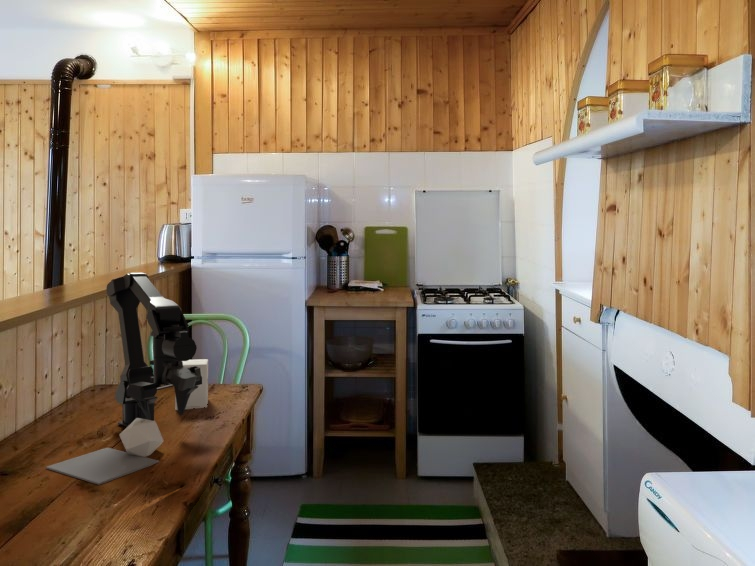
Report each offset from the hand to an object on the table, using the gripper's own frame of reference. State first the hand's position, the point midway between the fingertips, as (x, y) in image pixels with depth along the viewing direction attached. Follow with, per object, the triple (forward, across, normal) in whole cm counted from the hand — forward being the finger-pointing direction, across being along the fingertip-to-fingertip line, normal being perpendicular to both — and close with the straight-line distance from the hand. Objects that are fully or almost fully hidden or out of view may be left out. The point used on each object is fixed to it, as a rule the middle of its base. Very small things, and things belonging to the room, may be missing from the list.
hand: (166, 419), depth 146 cm
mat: (+6, -17, 0) cm, 18 cm away
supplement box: (+6, +24, +17) cm, 30 cm away
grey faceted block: (+6, -5, 0) cm, 8 cm away
